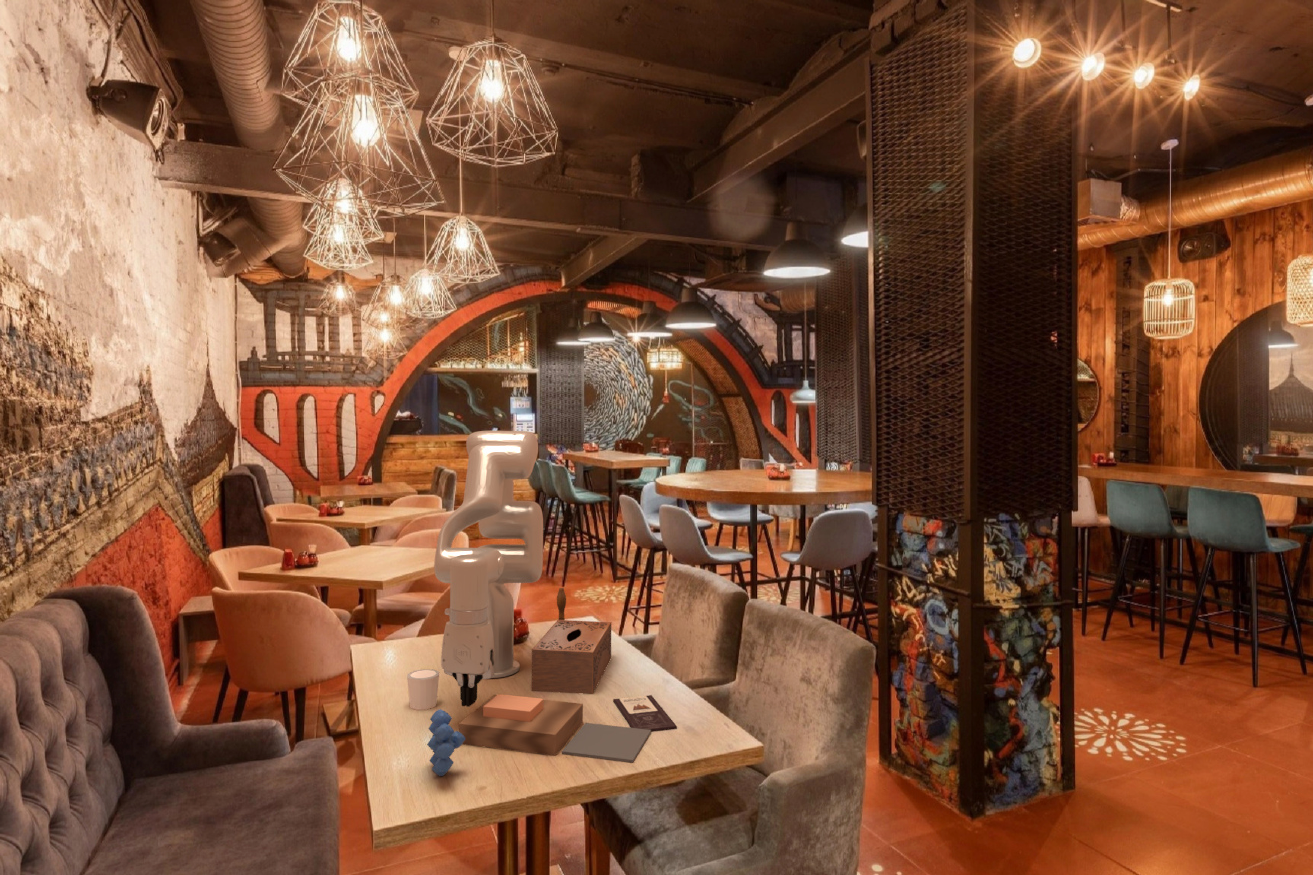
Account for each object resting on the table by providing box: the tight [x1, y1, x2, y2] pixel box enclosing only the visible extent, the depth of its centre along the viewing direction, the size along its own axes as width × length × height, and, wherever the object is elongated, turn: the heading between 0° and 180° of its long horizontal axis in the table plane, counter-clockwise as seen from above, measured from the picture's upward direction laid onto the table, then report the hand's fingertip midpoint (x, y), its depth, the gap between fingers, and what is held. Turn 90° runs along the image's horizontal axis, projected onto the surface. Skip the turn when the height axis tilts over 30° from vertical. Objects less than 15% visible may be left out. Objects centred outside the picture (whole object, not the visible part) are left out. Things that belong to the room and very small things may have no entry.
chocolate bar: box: [612, 694, 678, 733], centre depth 166 cm, size 9×1×18 cm
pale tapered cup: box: [406, 668, 440, 711], centre depth 170 cm, size 7×7×7 cm
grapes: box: [427, 709, 466, 777], centre depth 138 cm, size 12×7×12 cm, turn 24°
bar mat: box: [561, 722, 652, 764], centre depth 152 cm, size 14×14×1 cm
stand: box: [458, 694, 584, 756], centre depth 156 cm, size 20×16×4 cm
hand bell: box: [556, 587, 567, 620], centre depth 214 cm, size 8×8×16 cm
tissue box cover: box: [531, 619, 612, 695], centre depth 191 cm, size 26×14×10 cm, turn 174°
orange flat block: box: [483, 693, 544, 722], centre depth 156 cm, size 10×7×2 cm
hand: (468, 703), depth 159 cm, fingers closed
